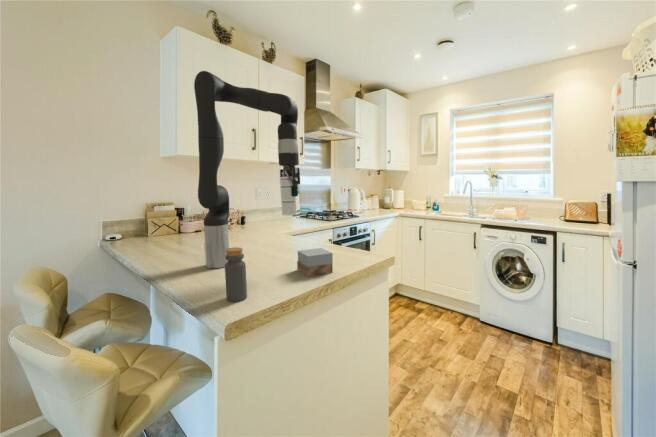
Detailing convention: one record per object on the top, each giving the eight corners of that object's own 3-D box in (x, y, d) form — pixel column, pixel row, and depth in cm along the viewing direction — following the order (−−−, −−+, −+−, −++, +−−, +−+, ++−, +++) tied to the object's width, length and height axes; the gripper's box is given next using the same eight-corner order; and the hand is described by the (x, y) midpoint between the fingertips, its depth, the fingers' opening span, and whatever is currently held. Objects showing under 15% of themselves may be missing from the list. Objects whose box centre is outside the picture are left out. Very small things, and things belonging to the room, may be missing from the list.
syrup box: (296, 215, 111) (294, 176, 109) (281, 215, 112) (279, 176, 111) (301, 213, 117) (299, 176, 115) (286, 213, 118) (284, 176, 116)
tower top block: (307, 267, 108) (307, 256, 107) (298, 260, 117) (297, 250, 116) (332, 263, 112) (332, 253, 112) (321, 257, 121) (320, 247, 121)
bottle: (233, 303, 85) (230, 252, 83) (222, 298, 89) (219, 249, 87) (251, 297, 89) (248, 248, 87) (240, 293, 93) (237, 246, 91)
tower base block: (308, 278, 108) (308, 267, 107) (297, 271, 116) (297, 261, 116) (332, 273, 113) (332, 263, 112) (320, 267, 121) (319, 257, 121)
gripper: (272, 154, 116) (274, 196, 118) (285, 150, 104) (288, 197, 106) (290, 154, 120) (292, 195, 122) (305, 150, 107) (307, 196, 109)
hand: (290, 196), depth 114 cm, fingers closed on syrup box, 8 cm apart
